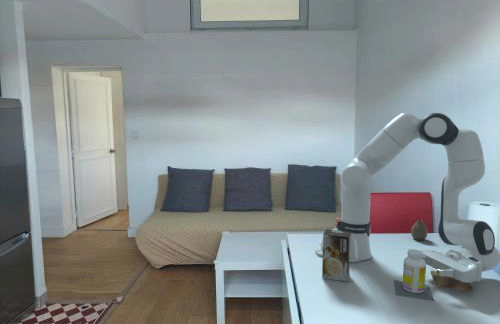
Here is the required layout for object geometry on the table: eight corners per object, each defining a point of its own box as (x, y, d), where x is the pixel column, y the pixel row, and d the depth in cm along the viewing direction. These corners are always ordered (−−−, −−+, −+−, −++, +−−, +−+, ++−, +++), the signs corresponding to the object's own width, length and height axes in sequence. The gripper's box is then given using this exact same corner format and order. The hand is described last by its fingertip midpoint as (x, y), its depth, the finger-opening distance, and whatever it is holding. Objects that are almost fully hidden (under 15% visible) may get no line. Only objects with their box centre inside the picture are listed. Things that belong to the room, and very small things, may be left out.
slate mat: (396, 295, 117) (396, 294, 117) (394, 280, 127) (394, 279, 127) (434, 300, 113) (434, 300, 113) (428, 285, 124) (429, 284, 124)
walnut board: (435, 286, 123) (435, 283, 123) (430, 273, 134) (430, 270, 133) (472, 291, 120) (472, 288, 120) (464, 277, 130) (464, 274, 130)
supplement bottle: (423, 286, 122) (425, 249, 121) (425, 295, 116) (428, 256, 114) (401, 283, 124) (403, 247, 123) (402, 292, 118) (405, 254, 117)
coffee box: (350, 275, 131) (352, 231, 129) (348, 282, 125) (350, 237, 123) (324, 270, 135) (326, 228, 133) (321, 278, 129) (322, 233, 127)
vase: (428, 242, 167) (430, 223, 166) (412, 241, 168) (413, 222, 167) (424, 237, 173) (426, 219, 172) (409, 236, 175) (410, 218, 174)
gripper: (434, 243, 135) (404, 247, 131) (486, 264, 116) (453, 270, 111) (433, 259, 136) (403, 264, 131) (484, 283, 117) (452, 289, 112)
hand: (427, 267), depth 121 cm, fingers open, 8 cm apart
